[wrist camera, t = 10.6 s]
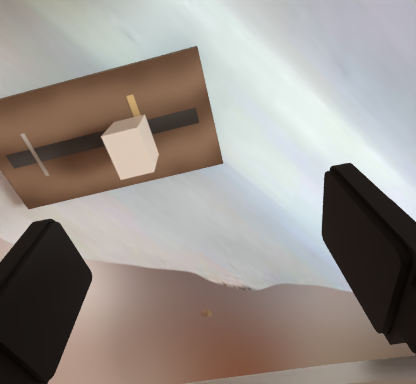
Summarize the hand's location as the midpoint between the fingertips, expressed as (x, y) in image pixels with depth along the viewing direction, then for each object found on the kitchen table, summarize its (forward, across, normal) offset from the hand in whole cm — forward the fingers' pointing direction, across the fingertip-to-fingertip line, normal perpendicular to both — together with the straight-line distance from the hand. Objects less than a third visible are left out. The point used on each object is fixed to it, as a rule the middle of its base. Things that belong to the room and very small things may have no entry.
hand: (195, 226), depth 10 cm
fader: (+20, +6, +2) cm, 21 cm away
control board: (+23, +11, +3) cm, 25 cm away
